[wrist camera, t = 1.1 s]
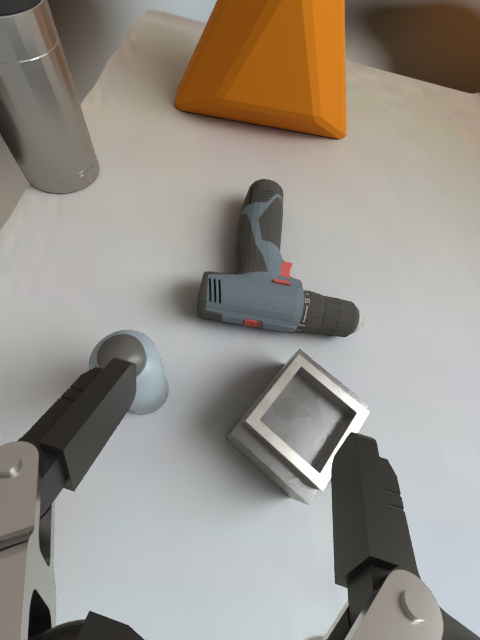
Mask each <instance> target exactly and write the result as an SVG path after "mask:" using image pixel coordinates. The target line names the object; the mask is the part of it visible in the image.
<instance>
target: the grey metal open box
mask: <svg viewBox="0 0 480 640" xmlns="http://www.w3.org/2000/svg"><path fill="white" fill-rule="evenodd" d="M368 406H369V405H368V404H366V403H365V402H364V401H363V400H361V399H360V398H359V397H358V396H357V395H355V394H354V393H353V392H352V391H350V390H349V389H348V388H347V387H345V386H344V385H343V384H342V383H341V382H339V381H338V380H337V379H336V378H334V377H333V376H332V375H331V374H330V373H328V372H327V371H326V370H325V369H323V368H322V367H321V366H320V365H319V364H317V363H316V362H315V361H314V360H312V359H311V358H310V357H309V356H308V355H306V354H305V353H304V352H303V351H301V350H300V349H299V350H298V351H297V352H296V353H295V354H294V355H293V356H292V357H291V358H290V359H289V360H288V361H287V362H286V364H285V365H284V366H283V367H282V368H281V370H280V371H279V372H278V373H277V375H276V376H275V377H274V378H273V379H272V381H271V382H270V383H269V384H268V386H267V387H266V388H265V389H264V391H263V392H262V393H261V394H260V396H259V397H258V398H257V399H256V400H255V402H254V403H253V404H252V405H251V407H250V408H249V409H248V410H247V412H246V413H245V414H244V415H243V417H242V418H241V419H240V420H239V421H238V423H237V424H236V425H235V426H234V428H233V429H232V430H231V431H230V433H229V434H228V435H227V436H226V438H227V439H228V440H229V441H230V442H231V443H232V444H233V445H234V446H235V447H236V448H237V449H239V450H240V451H241V452H242V453H243V454H244V455H245V456H246V457H247V458H248V459H249V460H250V461H251V462H252V463H254V464H255V465H256V466H257V467H258V468H259V469H260V470H261V471H262V472H263V473H264V474H265V475H266V476H267V477H269V478H270V479H271V480H272V481H273V482H274V483H275V484H276V485H277V486H278V487H279V488H280V489H281V490H282V491H284V492H285V493H286V494H287V495H288V496H289V497H290V498H292V499H295V500H297V501H300V502H303V503H306V504H308V505H309V504H310V503H311V501H312V499H313V498H314V496H315V494H316V493H317V491H318V490H321V491H323V490H324V488H325V486H326V485H327V483H328V481H329V480H330V478H331V466H332V461H333V458H334V455H335V454H336V452H337V451H338V449H339V448H340V446H341V445H342V443H343V442H344V440H345V439H346V438H347V436H348V435H349V433H350V432H355V433H357V432H358V431H359V429H360V427H361V426H362V424H363V422H364V421H365V419H366V417H367V416H368V414H369V411H368V410H367V408H368Z"/></svg>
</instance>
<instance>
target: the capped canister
mask: <svg viewBox="0 0 480 640" xmlns="http://www.w3.org/2000/svg"><path fill="white" fill-rule="evenodd" d="M115 357H117V358H120V359H123V360H126V361H129V362H133V363H135V364H136V395H135V398H134V401H133V403H132V405H131V407H130V408H129V411H131V412H132V413H135V414H140V415H144V414H150V413H152V412H154V411H156V410H158V409H159V408H160V407H161V406H162V405H163V404H164V402H165V401H166V399H167V396H168V390H169V389H168V383H167V379H166V376H165V373H164V370H163V367H162V364H161V360H160V357H159V354H158V351H157V348H156V346H155V344H154V343H153V341H152V340H151V339H150V338H149V337H148V336H146V335H145V334H143V333H141V332H138V331H133V330H122V331H117V332H114V333H112V334H110V335H108V336H106V337H105V338H103V339H102V340H101V341H100V342H99V343H98V344H97V345H96V347H95V348H94V350H93V352H92V354H91V357H90V361H89V369H90V370H91V369H93V368H95V367H98V368H101V369H104V367H105V366H106V365H107V364H108V363H109V362H110V361H111V360H112V359H113V358H115Z"/></svg>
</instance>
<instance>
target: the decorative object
mask: <svg viewBox="0 0 480 640" xmlns="http://www.w3.org/2000/svg"><path fill="white" fill-rule="evenodd" d="M174 105H175V107H176V108H178V109H179V110H182V111H187V112H192V113H198V114H203V115H209V116H214V117H220V118H226V119H231V120H237V121H242V122H248V123H253V124H259V125H264V126H270V127H275V128H281V129H287V130H292V131H298V132H303V133H309V134H314V135H320V136H325V137H331V138H336V139H342V138H344V137H345V136H346V84H345V9H344V0H217V2H216V4H215V7H214V9H213V11H212V14H211V16H210V18H209V20H208V22H207V24H206V27H205V29H204V31H203V33H202V36H201V38H200V40H199V42H198V44H197V47H196V49H195V51H194V53H193V56H192V58H191V60H190V62H189V64H188V67H187V69H186V71H185V73H184V76H183V78H182V80H181V82H180V84H179V87H178V91H177V95H176V99H175V103H174Z"/></svg>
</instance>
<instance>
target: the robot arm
mask: <svg viewBox="0 0 480 640" xmlns="http://www.w3.org/2000/svg"><path fill="white" fill-rule="evenodd" d="M0 134H1V136H2V137H3V139H4V141H5V143H6V145H7V146H8V148H9V150H10V152H11V153H12V155H13V157H14V158H15V160H16V162H17V164H18V165H19V167H20V168H21V170H22V172H23V174H24V175H25V177H26V179H27V180H28V182H29V183H30V184H32V185H33V186H34V187H36V188H38V189H40V190H42V191H45V192H50V193H69V192H74V191H77V190H80V189H82V188H85V187H86V186H88V185H89V184H91V183H92V182H93V181H94V180H95V178H96V177H97V175H98V172H99V164H98V161H97V157H96V154H95V151H94V148H93V145H92V142H91V138H90V135H89V132H88V128H87V125H86V122H85V119H84V116H83V113H82V109H81V106H80V103H79V100H78V97H77V94H76V90H75V87H74V84H73V81H72V78H71V75H70V71H69V68H68V65H67V62H66V59H65V55H64V52H63V49H62V46H61V43H60V40H59V36H58V33H57V31H56V27H55V24H54V21H53V18H52V15H51V12H50V8H49V5H48V2H47V0H0ZM135 395H136V364H135V363H133V362H129V361H126V360H123V359H120V358H117V357H115V358H113V359H112V360H111V361H110V362H109V363H108V364H107V365H106V366H105V367H104V369H101V368H98V367H95V368H93V369H91V370H89V371H88V372H86V373H84V374H82V375H81V376H80V377H79V378H78V379H77V380H76V381H75V382H74V383H73V384H72V385H71V387H70V389H68V390H67V391H66V392H65V393H64V394H63V395H62V397H61V398H59V399H58V400H57V401H56V402H55V403H54V404H53V405H52V406H51V408H50V409H49V410H48V411H47V412H46V413H45V414H44V415H43V416H42V417H41V418H40V419H39V420H38V421H37V422H36V423H35V424H34V425H33V427H32V428H31V429H30V430H29V431H28V432H27V433H26V434H25V435H24V436H23V437H22V438H20V439H19V440H18V441H16V442H11V443H7V444H4V445H2V446H0V640H144V639H143V638H142V637H141V636H140V635H138V634H137V633H136V632H135V631H134V630H133V629H132V628H131V627H130V626H129V625H126V624H123V623H121V622H118V621H115V620H113V619H110V618H107V617H105V616H102V615H99V614H97V613H94V612H91V611H89V613H88V615H87V617H86V620H76V621H71V622H67V623H64V624H61V625H58V626H56V586H55V578H54V567H53V559H54V506H55V501H54V500H55V499H56V497H57V496H58V494H59V493H60V491H61V490H62V489H63V488H66V489H69V490H72V491H75V489H76V488H77V486H78V485H79V483H80V482H81V480H82V479H83V477H84V476H85V474H86V473H87V471H88V470H89V468H90V467H91V465H92V464H93V462H94V461H95V459H96V458H97V456H98V455H99V453H100V452H101V450H102V449H103V447H104V446H105V444H106V443H107V441H108V440H109V438H110V437H111V435H112V434H113V432H114V431H115V429H116V428H117V426H118V425H119V423H120V422H121V420H122V419H123V417H124V416H125V414H126V413H127V411H128V410H129V408H130V407H131V405H132V403H133V401H134V398H135ZM331 485H332V513H333V542H334V570H335V584H337V585H340V586H343V587H346V588H348V602H347V603H346V604H345V605H344V607H343V609H342V610H341V612H340V613H339V615H338V616H337V618H336V619H335V621H334V623H333V624H332V626H331V627H330V629H329V630H328V632H327V633H326V635H325V636H324V638H323V640H480V637H478V636H477V635H476V634H474V633H473V632H471V631H470V630H469V629H467V628H466V627H465V626H463V625H462V624H461V623H459V622H458V621H457V620H455V619H454V618H452V617H451V616H450V615H448V614H447V613H446V612H445V611H444V610H443V609H441V608H440V607H439V605H438V603H437V601H436V599H435V597H434V596H433V594H432V592H431V591H430V590H429V588H428V587H427V586H426V585H425V583H424V582H423V581H422V580H421V578H420V576H419V573H418V569H417V566H416V561H415V557H414V552H413V548H412V543H411V539H410V534H409V529H408V525H407V520H406V516H405V512H404V511H403V508H404V507H403V502H402V498H401V497H400V494H401V493H400V489H399V484H398V480H397V476H396V474H395V472H394V471H393V469H392V467H391V465H390V463H389V462H388V460H387V459H384V458H381V457H379V453H378V447H377V443H376V440H375V439H374V438H371V437H368V436H365V435H361V434H358V433H355V432H350V433H349V435H348V436H347V438H346V439H345V440H344V442H343V443H342V445H341V446H340V448H339V449H338V451H337V452H336V454H335V455H334V458H333V461H332V466H331Z"/></svg>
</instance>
